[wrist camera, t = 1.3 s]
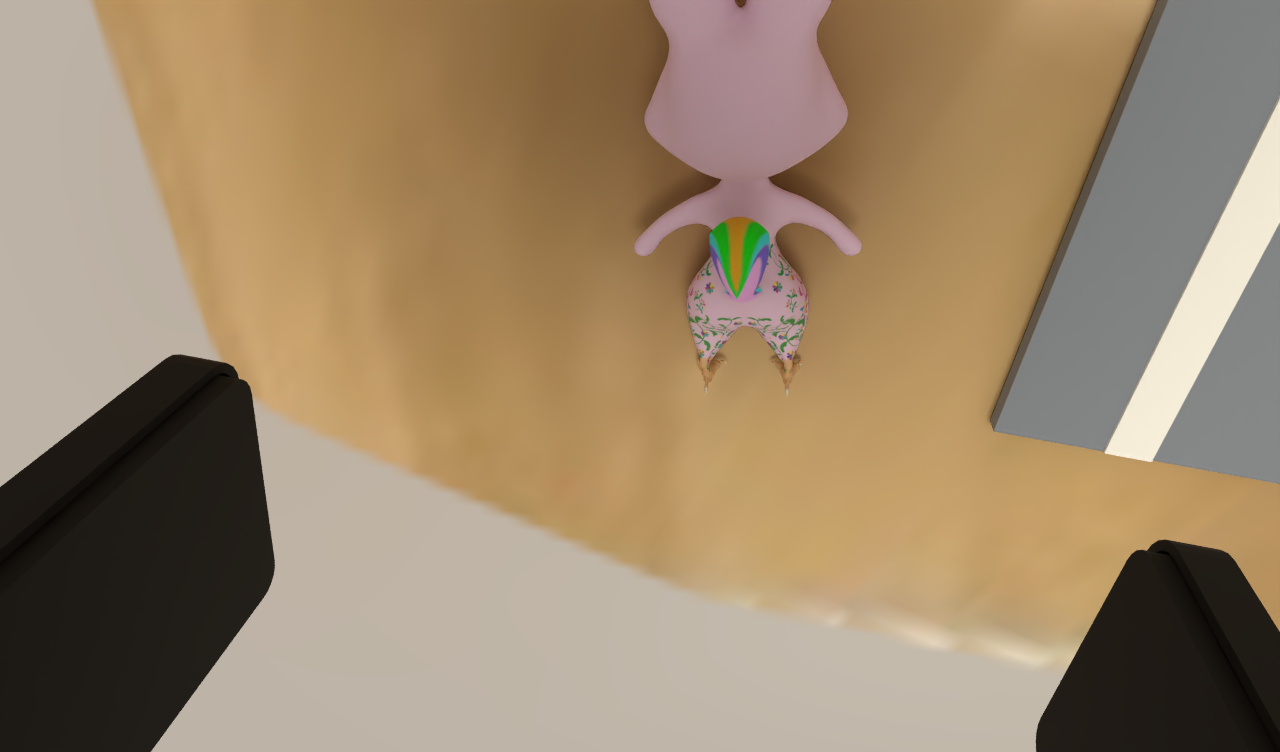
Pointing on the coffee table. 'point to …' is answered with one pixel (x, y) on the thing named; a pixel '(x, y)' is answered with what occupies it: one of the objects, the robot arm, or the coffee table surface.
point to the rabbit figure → (745, 159)
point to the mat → (1171, 261)
